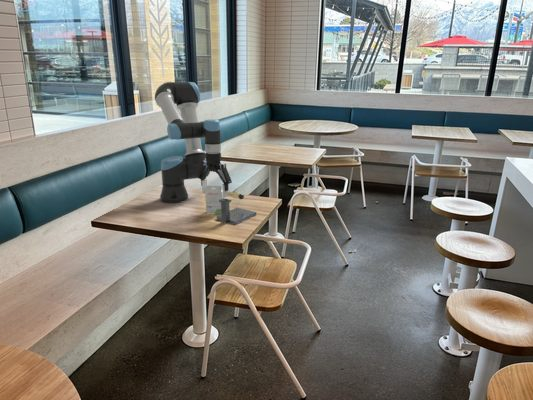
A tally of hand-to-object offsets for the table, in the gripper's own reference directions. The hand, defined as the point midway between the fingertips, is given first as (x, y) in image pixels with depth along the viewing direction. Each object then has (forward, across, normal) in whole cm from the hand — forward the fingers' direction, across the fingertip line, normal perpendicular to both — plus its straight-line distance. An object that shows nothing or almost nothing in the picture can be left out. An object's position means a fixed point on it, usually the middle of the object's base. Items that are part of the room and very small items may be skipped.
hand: (215, 194), depth 200 cm
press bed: (+10, +12, +1) cm, 16 cm away
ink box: (+10, 0, 0) cm, 10 cm away
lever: (+4, 0, +11) cm, 12 cm away
